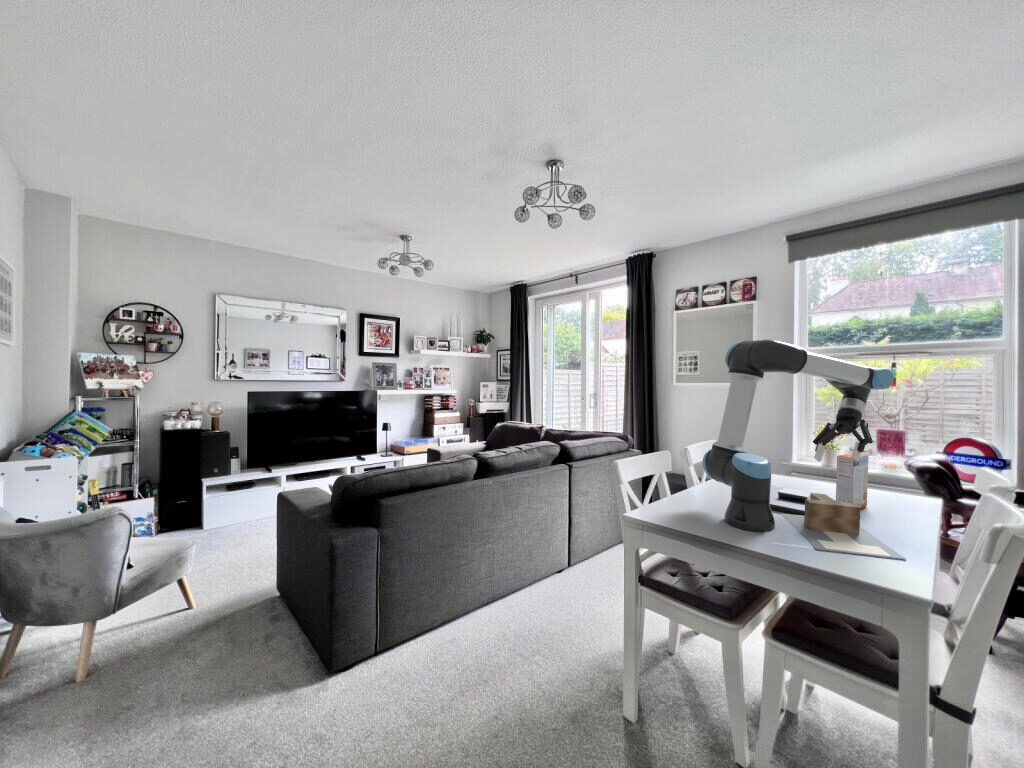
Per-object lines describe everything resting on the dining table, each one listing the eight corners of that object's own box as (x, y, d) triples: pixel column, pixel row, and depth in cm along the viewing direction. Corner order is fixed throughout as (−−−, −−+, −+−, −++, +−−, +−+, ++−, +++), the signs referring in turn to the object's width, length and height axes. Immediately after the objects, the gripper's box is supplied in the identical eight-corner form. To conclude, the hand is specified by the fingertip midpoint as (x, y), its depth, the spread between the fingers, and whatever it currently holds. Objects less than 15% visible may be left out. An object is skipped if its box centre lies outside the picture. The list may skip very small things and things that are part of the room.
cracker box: (849, 502, 172) (851, 451, 172) (867, 507, 167) (870, 454, 166) (833, 508, 165) (836, 454, 164) (852, 513, 160) (855, 457, 159)
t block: (809, 529, 141) (810, 503, 141) (794, 516, 154) (795, 491, 154) (859, 534, 138) (860, 507, 137) (839, 520, 151) (840, 495, 150)
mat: (816, 550, 126) (816, 548, 126) (780, 514, 157) (780, 513, 157) (906, 560, 120) (906, 559, 120) (850, 521, 151) (850, 520, 151)
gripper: (894, 414, 153) (879, 465, 146) (824, 421, 176) (809, 465, 169) (879, 402, 151) (864, 452, 145) (812, 410, 175) (796, 454, 168)
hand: (835, 459), depth 157 cm, fingers open, 13 cm apart
